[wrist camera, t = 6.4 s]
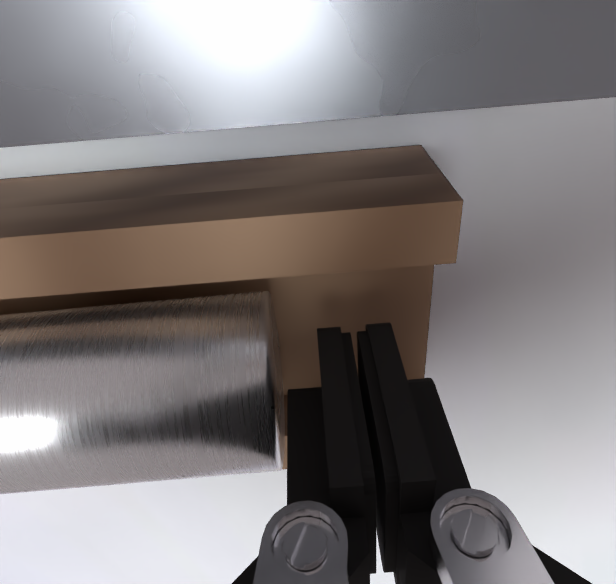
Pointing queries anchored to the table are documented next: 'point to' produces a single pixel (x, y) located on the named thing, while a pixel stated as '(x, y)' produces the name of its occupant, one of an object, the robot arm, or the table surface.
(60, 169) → the table surface
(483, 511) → the robot arm
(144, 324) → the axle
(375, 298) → the brown piece
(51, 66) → the v block
